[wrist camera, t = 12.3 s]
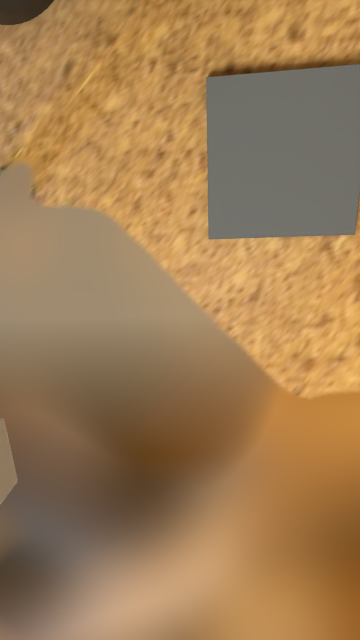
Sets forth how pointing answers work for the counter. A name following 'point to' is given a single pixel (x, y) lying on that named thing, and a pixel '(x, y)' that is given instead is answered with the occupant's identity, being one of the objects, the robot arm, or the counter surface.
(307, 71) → the mat
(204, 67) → the counter surface
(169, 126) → the counter surface
